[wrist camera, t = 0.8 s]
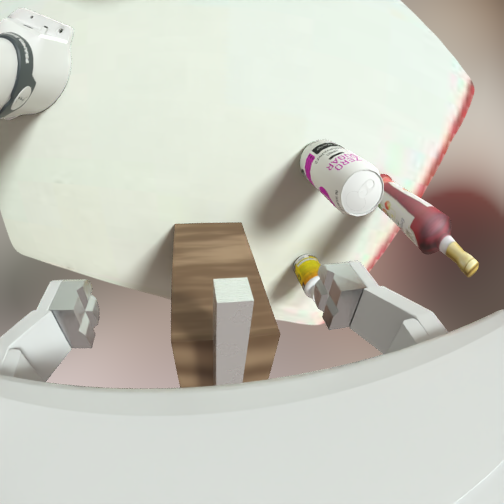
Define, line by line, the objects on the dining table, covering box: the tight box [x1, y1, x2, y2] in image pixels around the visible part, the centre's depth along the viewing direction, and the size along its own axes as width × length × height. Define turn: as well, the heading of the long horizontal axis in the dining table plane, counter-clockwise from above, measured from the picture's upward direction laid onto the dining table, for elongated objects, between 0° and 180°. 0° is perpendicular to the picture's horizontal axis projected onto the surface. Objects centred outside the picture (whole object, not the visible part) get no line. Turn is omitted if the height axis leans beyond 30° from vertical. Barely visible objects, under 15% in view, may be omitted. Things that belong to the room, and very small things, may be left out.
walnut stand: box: [171, 223, 280, 388], centre depth 44 cm, size 13×12×26 cm
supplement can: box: [300, 139, 384, 216], centre depth 42 cm, size 8×8×15 cm
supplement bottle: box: [293, 254, 321, 302], centre depth 57 cm, size 6×6×10 cm
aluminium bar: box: [213, 277, 254, 386], centre depth 29 cm, size 20×3×3 cm, turn 174°
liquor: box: [378, 174, 479, 277], centre depth 42 cm, size 7×7×28 cm
